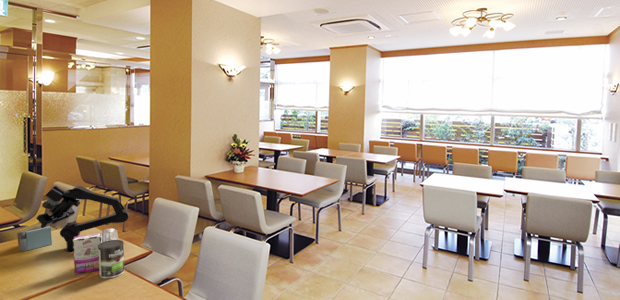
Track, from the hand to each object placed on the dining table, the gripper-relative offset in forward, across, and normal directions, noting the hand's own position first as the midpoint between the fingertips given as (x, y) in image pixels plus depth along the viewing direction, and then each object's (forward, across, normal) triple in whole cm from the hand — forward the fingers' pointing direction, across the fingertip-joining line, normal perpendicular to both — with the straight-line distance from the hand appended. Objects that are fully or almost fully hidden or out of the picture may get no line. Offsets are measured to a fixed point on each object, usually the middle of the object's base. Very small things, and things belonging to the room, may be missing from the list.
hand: (47, 225), depth 186 cm
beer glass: (-20, +7, +38) cm, 43 cm away
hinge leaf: (+13, +1, +5) cm, 14 cm away
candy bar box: (-18, +19, +36) cm, 45 cm away
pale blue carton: (+16, 0, +2) cm, 16 cm away
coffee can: (-27, +20, +45) cm, 56 cm away
